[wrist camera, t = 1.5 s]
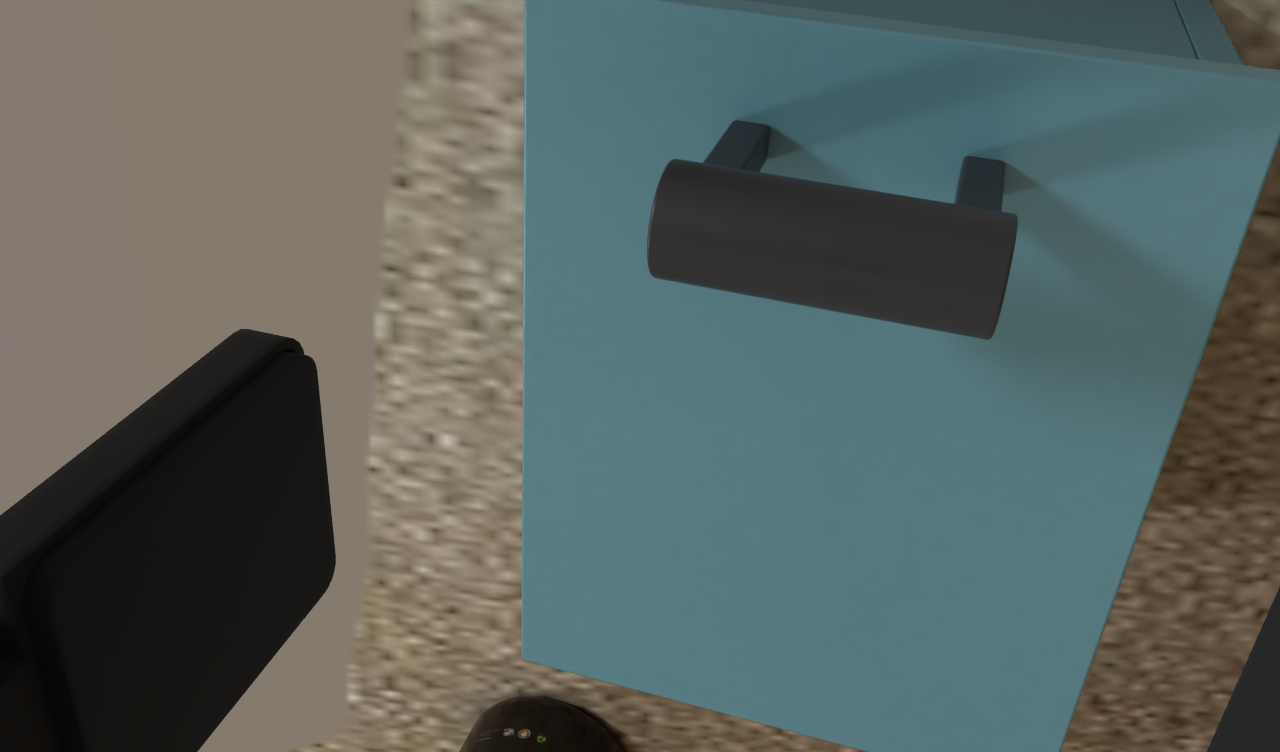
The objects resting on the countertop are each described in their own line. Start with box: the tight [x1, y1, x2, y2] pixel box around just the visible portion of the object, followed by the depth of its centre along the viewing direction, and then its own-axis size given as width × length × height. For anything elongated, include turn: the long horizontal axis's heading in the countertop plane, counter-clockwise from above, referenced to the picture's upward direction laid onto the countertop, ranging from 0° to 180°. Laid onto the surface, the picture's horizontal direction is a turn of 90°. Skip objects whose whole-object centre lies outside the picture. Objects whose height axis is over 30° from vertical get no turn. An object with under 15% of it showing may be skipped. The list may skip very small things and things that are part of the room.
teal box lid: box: [522, 0, 1280, 752], centre depth 22 cm, size 16×13×6 cm
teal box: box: [745, 0, 1244, 65], centre depth 28 cm, size 16×13×10 cm
